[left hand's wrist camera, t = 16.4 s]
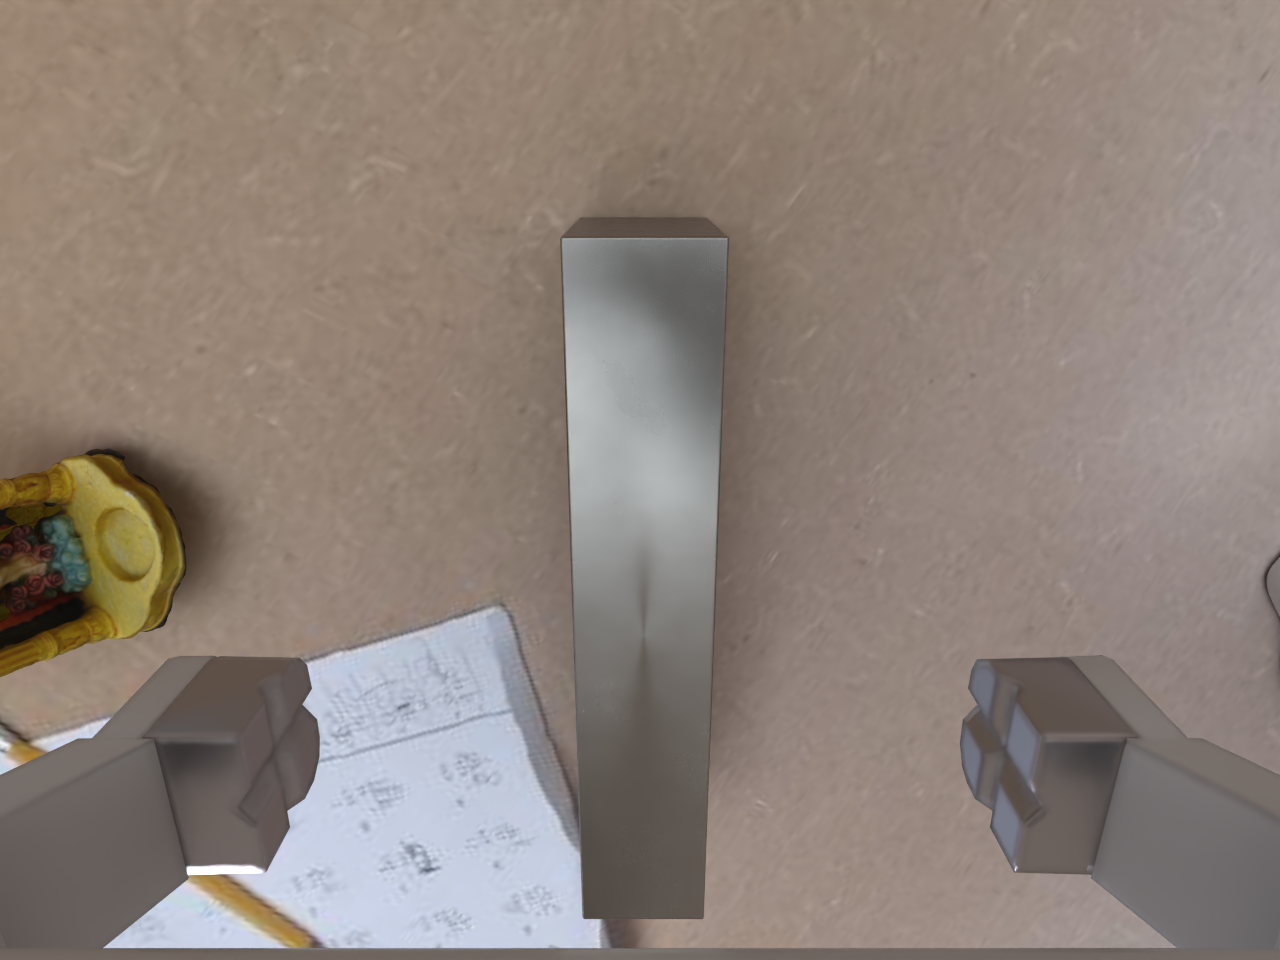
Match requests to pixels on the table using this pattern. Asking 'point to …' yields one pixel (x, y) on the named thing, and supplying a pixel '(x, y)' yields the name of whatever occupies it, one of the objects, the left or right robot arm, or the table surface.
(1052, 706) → the left robot arm
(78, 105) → the table surface
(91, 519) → the shrine
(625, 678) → the bar
